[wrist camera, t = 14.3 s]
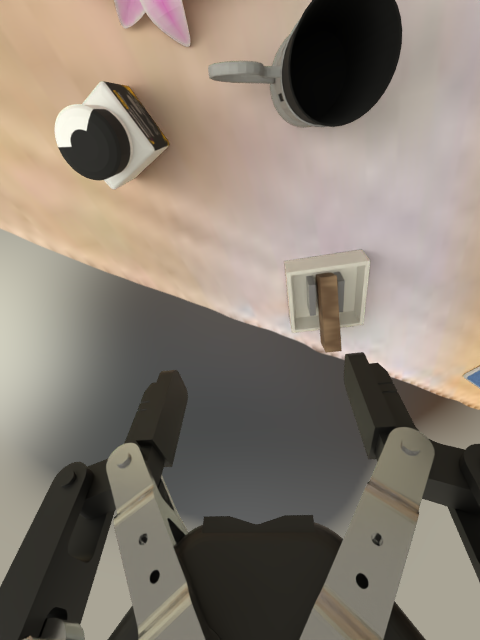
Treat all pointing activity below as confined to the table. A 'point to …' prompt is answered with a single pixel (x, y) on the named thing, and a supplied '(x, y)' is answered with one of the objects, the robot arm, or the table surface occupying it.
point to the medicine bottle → (109, 135)
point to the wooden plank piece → (328, 311)
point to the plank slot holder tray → (304, 291)
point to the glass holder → (328, 62)
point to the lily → (156, 16)
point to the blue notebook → (473, 376)
